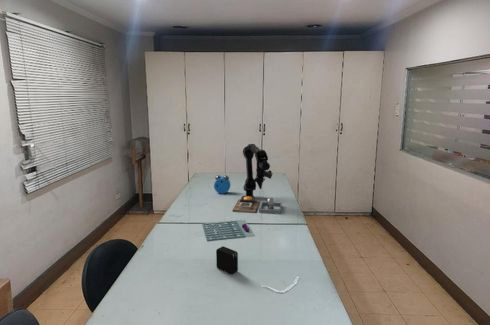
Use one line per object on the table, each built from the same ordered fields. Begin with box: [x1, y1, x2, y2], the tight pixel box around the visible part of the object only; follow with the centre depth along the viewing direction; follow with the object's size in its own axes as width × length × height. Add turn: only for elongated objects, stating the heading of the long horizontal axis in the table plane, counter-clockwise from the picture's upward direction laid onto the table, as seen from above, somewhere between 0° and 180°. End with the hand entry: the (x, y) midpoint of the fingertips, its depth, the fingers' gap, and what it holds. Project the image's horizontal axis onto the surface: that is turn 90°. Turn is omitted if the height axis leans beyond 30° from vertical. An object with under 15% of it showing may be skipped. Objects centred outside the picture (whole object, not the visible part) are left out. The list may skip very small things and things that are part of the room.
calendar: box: [201, 219, 256, 242], centre depth 202 cm, size 27×28×2 cm
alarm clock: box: [213, 175, 232, 195], centre depth 272 cm, size 13×6×15 cm, turn 86°
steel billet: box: [267, 197, 275, 210], centre depth 235 cm, size 4×4×8 cm
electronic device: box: [215, 245, 239, 275], centre depth 155 cm, size 4×10×10 cm, turn 51°
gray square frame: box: [258, 201, 283, 214], centre depth 236 cm, size 16×15×2 cm
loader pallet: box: [232, 195, 260, 214], centre depth 241 cm, size 24×16×4 cm, turn 171°
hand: (260, 188), depth 238 cm, fingers closed
